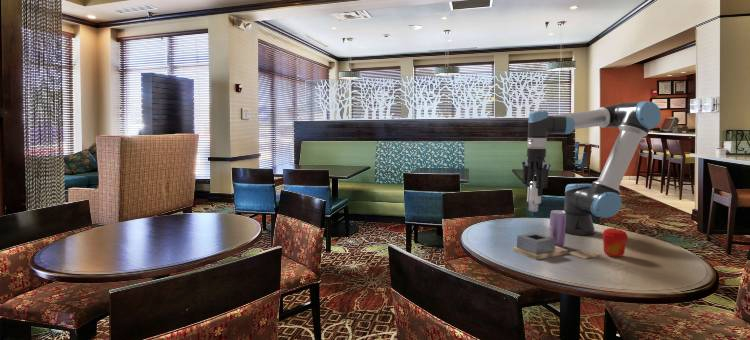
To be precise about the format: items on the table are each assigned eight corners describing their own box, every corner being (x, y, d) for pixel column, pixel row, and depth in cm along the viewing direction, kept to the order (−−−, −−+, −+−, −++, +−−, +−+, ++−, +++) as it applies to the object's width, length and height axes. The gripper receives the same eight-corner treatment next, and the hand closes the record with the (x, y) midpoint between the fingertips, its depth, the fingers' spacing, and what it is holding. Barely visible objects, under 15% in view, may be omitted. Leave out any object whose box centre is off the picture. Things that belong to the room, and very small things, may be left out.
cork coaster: (581, 251, 167) (581, 249, 166) (597, 256, 160) (597, 254, 160) (569, 253, 164) (569, 252, 163) (585, 258, 157) (585, 257, 157)
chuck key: (534, 209, 180) (536, 181, 179) (541, 210, 177) (543, 182, 175) (525, 210, 178) (526, 181, 176) (531, 212, 174) (533, 182, 173)
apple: (630, 259, 157) (632, 229, 156) (608, 259, 157) (610, 228, 156) (618, 252, 165) (620, 223, 164) (597, 252, 166) (598, 223, 164)
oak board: (543, 245, 174) (543, 242, 174) (567, 253, 164) (567, 249, 164) (513, 250, 167) (513, 247, 167) (536, 259, 156) (536, 255, 156)
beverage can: (565, 249, 170) (567, 213, 168) (550, 248, 171) (552, 212, 169) (562, 244, 175) (564, 210, 174) (547, 244, 177) (549, 209, 175)
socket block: (535, 244, 171) (535, 232, 170) (554, 251, 162) (555, 238, 161) (516, 247, 167) (517, 235, 166) (536, 254, 158) (536, 241, 157)
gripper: (515, 146, 180) (512, 199, 183) (545, 149, 165) (542, 206, 168) (528, 146, 183) (525, 198, 186) (559, 148, 168) (556, 205, 171)
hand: (533, 202), depth 177 cm, fingers closed on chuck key, 4 cm apart
